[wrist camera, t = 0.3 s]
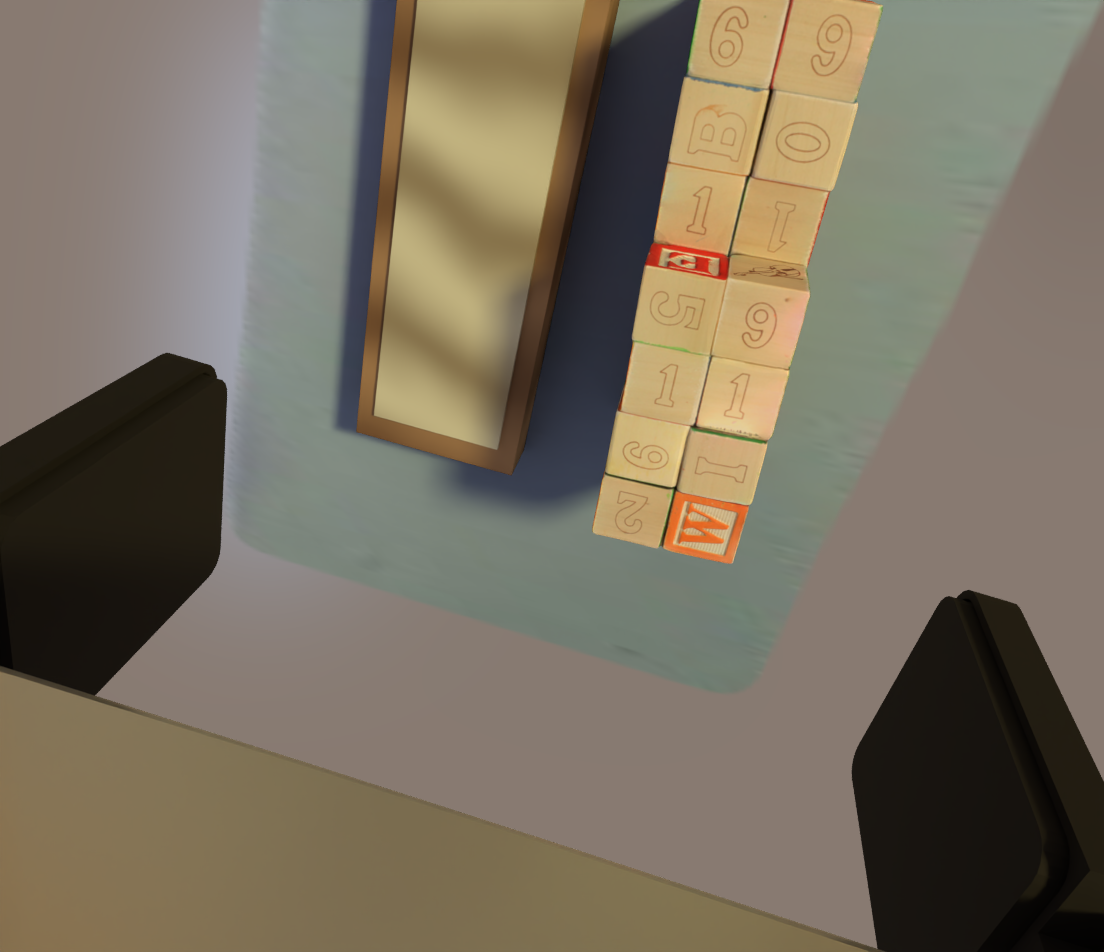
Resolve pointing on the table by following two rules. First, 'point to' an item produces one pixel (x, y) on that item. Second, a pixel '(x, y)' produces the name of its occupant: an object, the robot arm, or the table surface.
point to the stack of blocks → (730, 265)
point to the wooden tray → (476, 216)
